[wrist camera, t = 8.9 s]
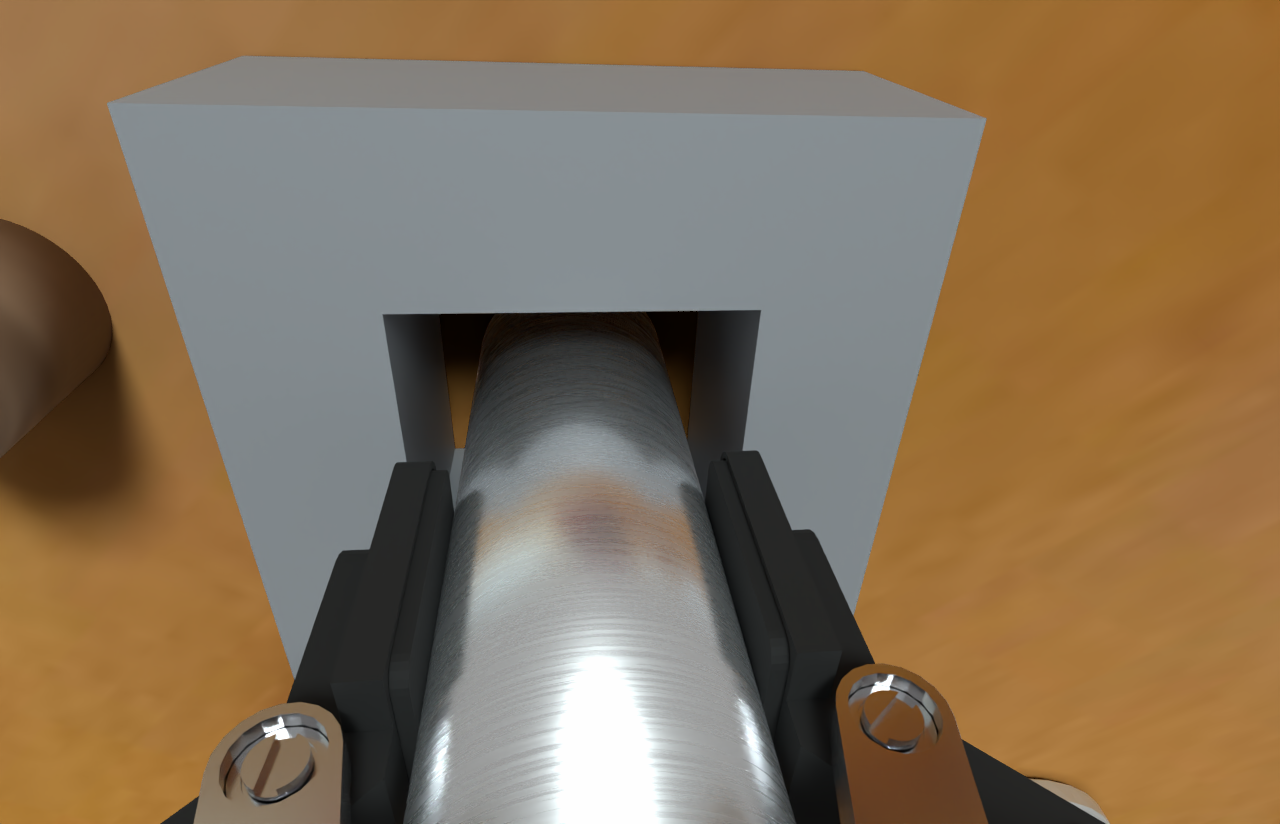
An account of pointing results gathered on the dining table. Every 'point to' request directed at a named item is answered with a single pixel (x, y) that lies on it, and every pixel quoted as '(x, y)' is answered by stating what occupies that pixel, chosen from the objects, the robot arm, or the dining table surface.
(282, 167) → the hole block
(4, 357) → the walnut pin
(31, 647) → the dining table surface
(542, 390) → the steel pin
